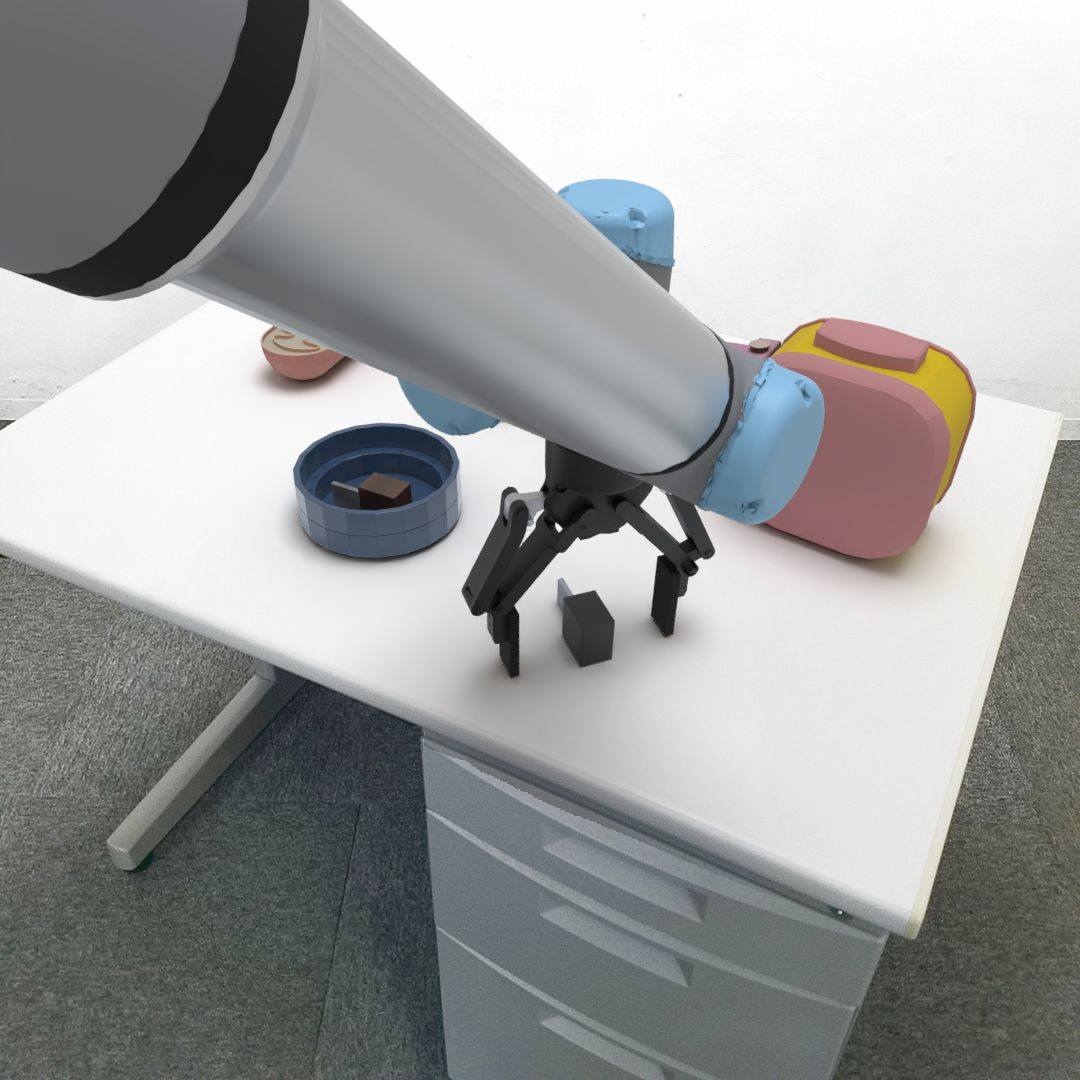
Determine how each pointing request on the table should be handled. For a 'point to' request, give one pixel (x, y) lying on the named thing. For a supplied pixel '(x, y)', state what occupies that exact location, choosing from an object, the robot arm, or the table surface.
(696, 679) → the table surface
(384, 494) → the blade walnut
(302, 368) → the anatomical model
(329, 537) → the bowl
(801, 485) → the alarm clock
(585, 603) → the cube with grey tab
